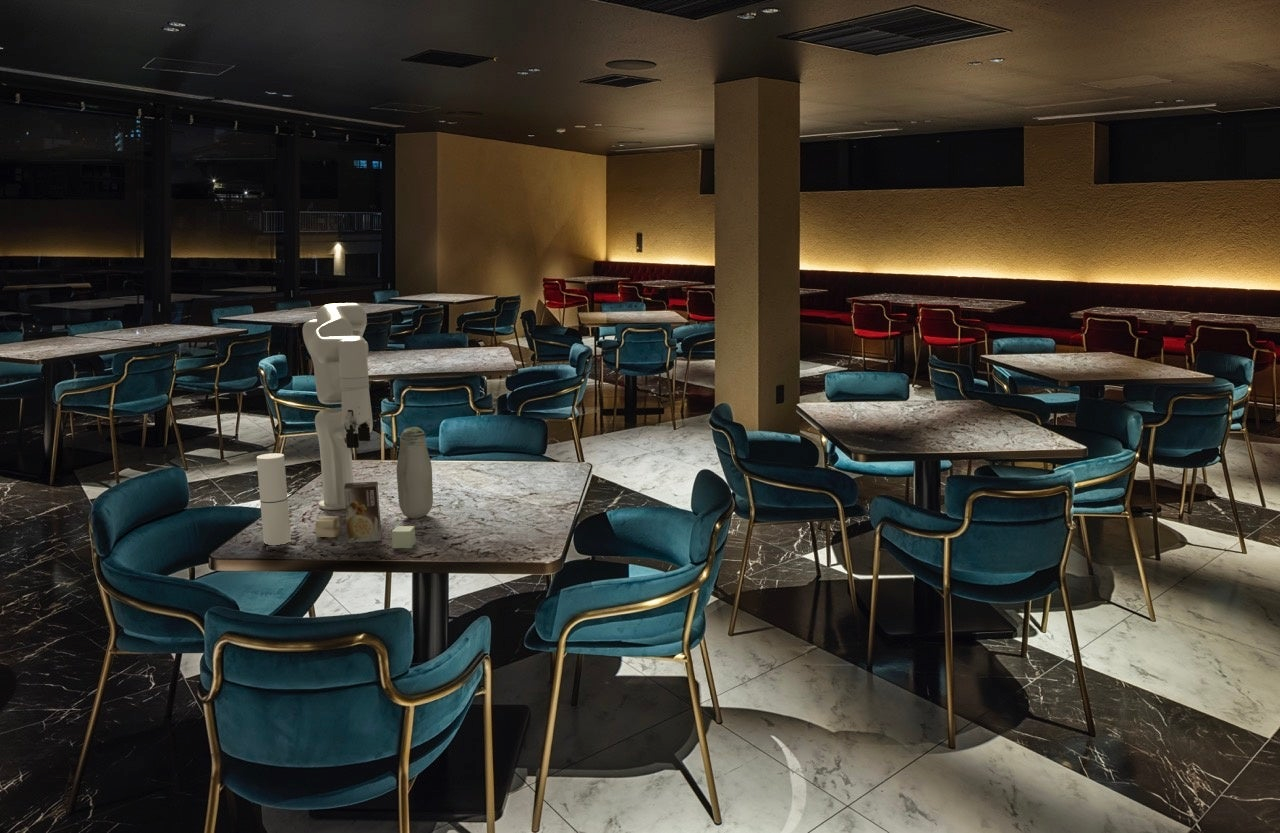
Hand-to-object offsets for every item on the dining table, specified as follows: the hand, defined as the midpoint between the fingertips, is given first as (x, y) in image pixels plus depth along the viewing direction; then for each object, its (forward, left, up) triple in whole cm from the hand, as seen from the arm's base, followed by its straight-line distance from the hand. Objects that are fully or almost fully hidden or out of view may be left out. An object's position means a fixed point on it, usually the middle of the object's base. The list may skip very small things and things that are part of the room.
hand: (358, 444), depth 262 cm
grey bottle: (-22, +9, -28) cm, 37 cm away
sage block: (+6, +13, -28) cm, 31 cm away
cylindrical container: (+3, -24, -28) cm, 37 cm away
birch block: (-4, -12, -28) cm, 31 cm away
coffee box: (0, 0, -28) cm, 28 cm away
